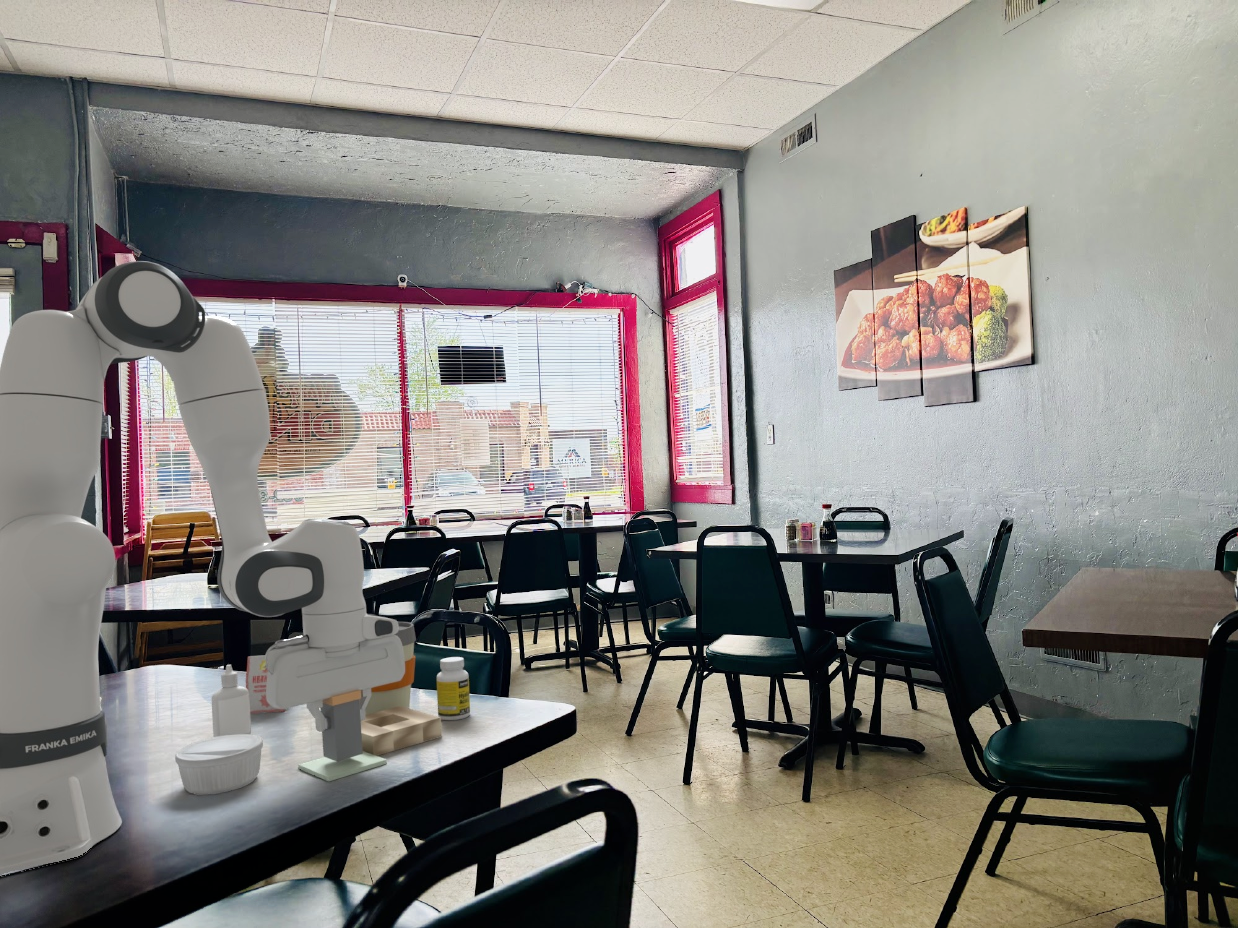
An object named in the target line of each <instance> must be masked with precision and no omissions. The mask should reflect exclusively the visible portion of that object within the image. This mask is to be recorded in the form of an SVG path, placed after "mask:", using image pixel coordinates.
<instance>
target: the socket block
mask: <svg viewBox="0 0 1238 928" xmlns="http://www.w3.org/2000/svg"><path fill="white" fill-rule="evenodd" d="M442 730H443V729H442V719H441V717H438V715H433V714H430V713H426V712H422V711H420V710H416V709H411V708H410V707H409V708H405V707H401V706H398V707H395V708H391V709H387V710H383V711H379V712H375V713H372V714H368V715H365V720H363V721H361V734H362V749H363V751H364V752H367V753H370V754H373V755H375V756H378V757H379V756H381V755H384V754H388V753H391V752H395V751H398V750H401V749H404V748H408V747H411V746H415V745H418V744H421V743H424V742H427V741H430V740H431V741H432V740H434V739H438V738H441V737H443V735H442V732H443V731H442Z"/></svg>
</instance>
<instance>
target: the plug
mask: <svg viewBox="0 0 1238 928" xmlns="http://www.w3.org/2000/svg"><path fill="white" fill-rule="evenodd" d="M359 699H361V690H356V691H352V692H348V693H344V694H340V695H336V696H332V697H330V698H328V699H324V700H322V702H323V707H322V708H319V710H320V711H321V713H322V714H323V716H327V717H330V718H331V723H330V725H331V729H329V730H326V731H322V732H321V738H322V739H321V740H322V751H323V753H322V754H323V757H326V758H329V759H332V760H334V761H337V762H338V761H341V760H344V759H348V758H351V757H354V756H357V755H360V754H363V749H362V734H361V719H360V703H359Z"/></svg>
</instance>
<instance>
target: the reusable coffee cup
mask: <svg viewBox="0 0 1238 928" xmlns="http://www.w3.org/2000/svg"><path fill="white" fill-rule="evenodd" d="M398 624H399V625H398V626H399V630H398V632H397V633H396V634H394V635H396V636H398V637H399V638H400V640H401V642H402V646H403V652H404V659H405V674H404V676H403V678H402V679H401V680H400V681H397V682H393V683H389V684H385V685H381V686H377V687H373V688H371V697H370V700H369V702H368V704H367V706H366V708H365V715H368V714H372V713H375V712H379V711H383V710H387V709H391V708H395V707H398V706H401V707H405V708H409V709H410V703H411V691H412V689H411V688H412V684H413V683H414V682H415V681H414V680H415V667H416V655H414V649H415V642H416V641H417V638H416V632H415V627H414V626H415V625H414V624H413V623H412V622H410V621H409V622H408V621H398Z"/></svg>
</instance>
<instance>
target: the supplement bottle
mask: <svg viewBox="0 0 1238 928" xmlns="http://www.w3.org/2000/svg"><path fill="white" fill-rule="evenodd" d="M439 664H440V665H439V666H440V670H441V671H440V672H438V673H437V675H436V695H437V696H436V697H437V699H436V700H437V701H436V702H437V716H438V717H441V721H442V720H443V721H459V720H462V719H465V717H466V718H468V717H469V716H470V715H471V707H470V706H471V704H470V703H471V702H470V700H471V698H470V681H469V680H470V679H469V676H470V675H469V673H468V672H467V671H466V670H465V669H464V667H465V659H464V657H462V656H461V657H460V656H451V657H446V658H442V659H440V660H439Z"/></svg>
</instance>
